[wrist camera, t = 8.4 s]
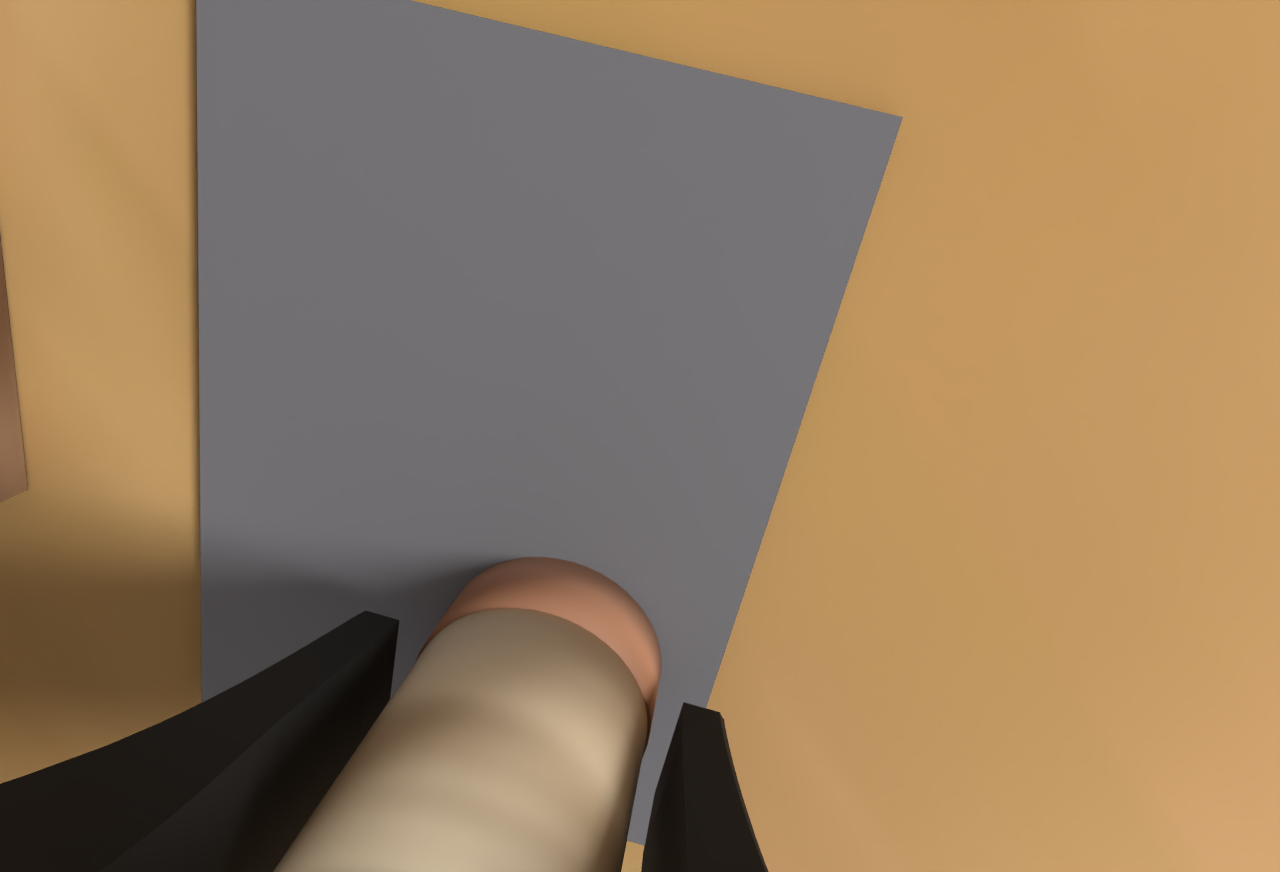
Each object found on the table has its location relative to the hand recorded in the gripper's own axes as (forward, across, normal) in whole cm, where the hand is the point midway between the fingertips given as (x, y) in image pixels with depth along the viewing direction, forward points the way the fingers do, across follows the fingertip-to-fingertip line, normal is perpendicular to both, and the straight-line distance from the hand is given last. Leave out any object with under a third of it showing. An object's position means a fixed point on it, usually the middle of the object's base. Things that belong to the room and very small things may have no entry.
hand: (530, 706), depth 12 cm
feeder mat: (+2, +2, -3) cm, 4 cm away
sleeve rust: (+1, 0, 0) cm, 1 cm away
